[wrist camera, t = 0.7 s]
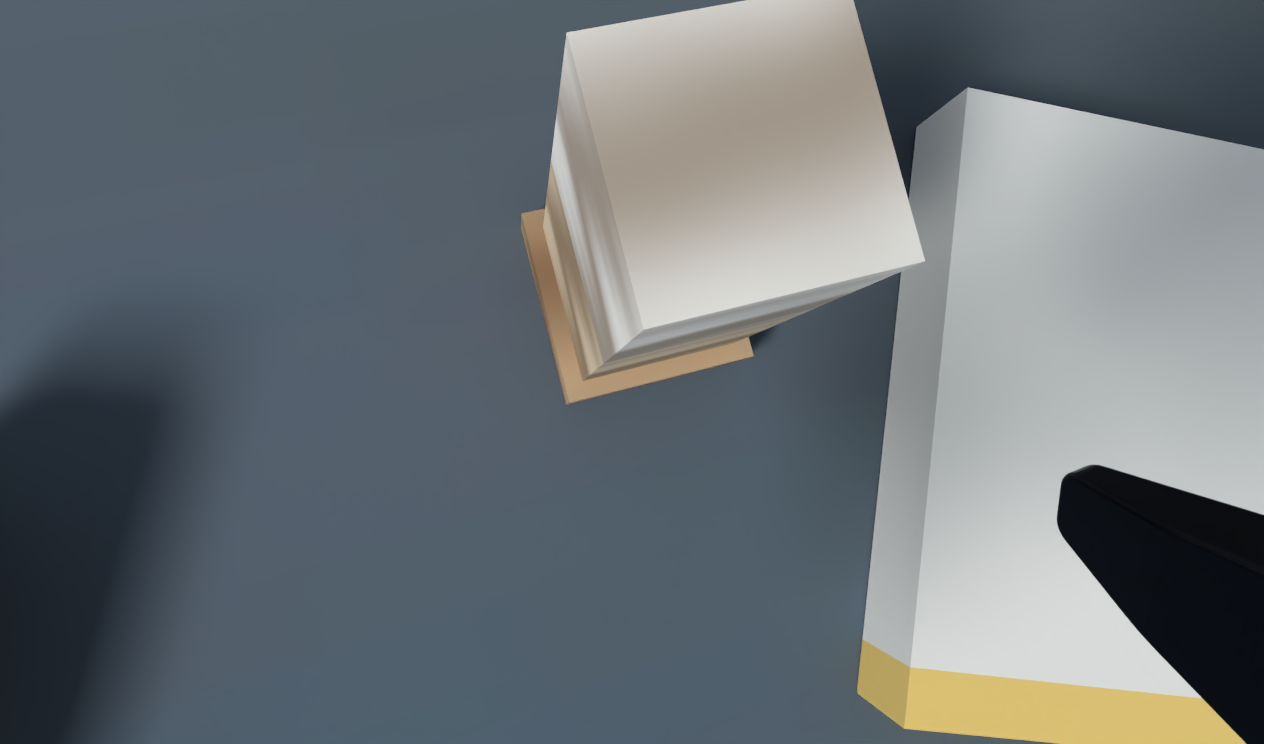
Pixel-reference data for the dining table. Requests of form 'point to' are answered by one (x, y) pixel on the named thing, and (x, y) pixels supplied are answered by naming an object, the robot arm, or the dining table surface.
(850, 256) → the beige tall block
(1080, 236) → the dock
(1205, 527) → the robot arm
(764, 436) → the dining table surface
